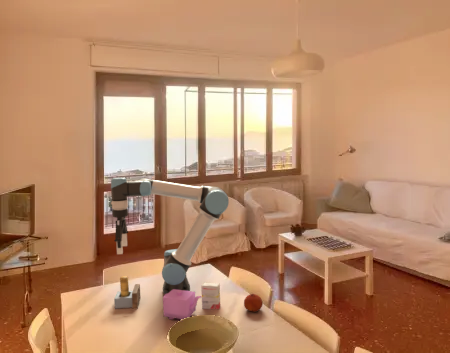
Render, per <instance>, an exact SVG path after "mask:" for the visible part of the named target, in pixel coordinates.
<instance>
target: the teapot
mask: <svg viewBox="0 0 450 353" xmlns="http://www.w3.org/2000/svg"><path fill="white" fill-rule="evenodd" d="M199 299H202V295H196V292H195V291H192V290H190V291H185V290H176V289H173V290H171V291H170V292H169V293H167V294H164V295H163V296H162V304H163V306H162V307H163V317H166V318H168V319H169V320H174V319H179V320H180V321H181V319H184V318H187V317H189V318H190V317H191V316H192V315H193V314H194V313H195V311H197V305H198V304H197V303H198V300H199Z"/></svg>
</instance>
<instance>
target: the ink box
mask: <svg viewBox="0 0 450 353" xmlns="http://www.w3.org/2000/svg"><path fill="white" fill-rule="evenodd" d="M220 286H221V285H220V283H219V282H205V281H204V282H203V283H202V284H201V287H200V288H201V289H200V291H201V296H202V297H201V307H202V310H203V309H204V310H205V309H206V310H207V309H208V310H220V307H221V287H220Z"/></svg>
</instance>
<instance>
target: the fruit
mask: <svg viewBox="0 0 450 353" xmlns="http://www.w3.org/2000/svg"><path fill="white" fill-rule="evenodd" d="M263 303H264V302H263V300H262V298H261V297H260V296H259V295H258V294H255V293H250V294H249V295H247V296H246V297H245V298H244V300H243V307H244V308H245V309H246V310H247V311H249V312H252V313H253V312H254V313H255V312H258V311H260V310H261V309H262V308H263Z"/></svg>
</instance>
